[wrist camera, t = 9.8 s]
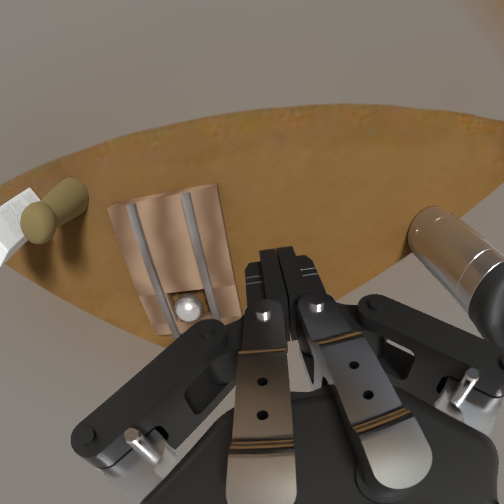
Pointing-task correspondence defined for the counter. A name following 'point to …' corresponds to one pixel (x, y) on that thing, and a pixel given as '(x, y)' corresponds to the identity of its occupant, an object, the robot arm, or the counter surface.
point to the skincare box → (13, 223)
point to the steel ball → (188, 307)
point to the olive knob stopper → (54, 210)
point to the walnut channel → (178, 254)
